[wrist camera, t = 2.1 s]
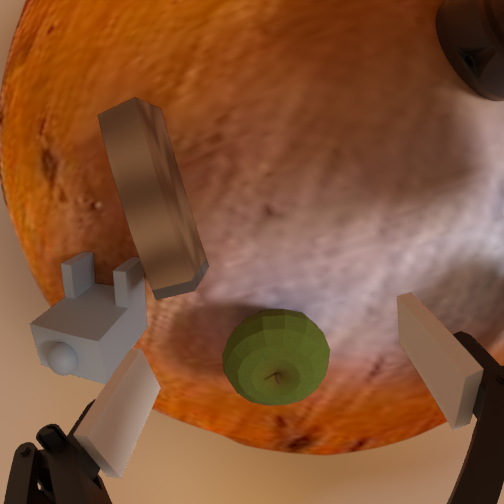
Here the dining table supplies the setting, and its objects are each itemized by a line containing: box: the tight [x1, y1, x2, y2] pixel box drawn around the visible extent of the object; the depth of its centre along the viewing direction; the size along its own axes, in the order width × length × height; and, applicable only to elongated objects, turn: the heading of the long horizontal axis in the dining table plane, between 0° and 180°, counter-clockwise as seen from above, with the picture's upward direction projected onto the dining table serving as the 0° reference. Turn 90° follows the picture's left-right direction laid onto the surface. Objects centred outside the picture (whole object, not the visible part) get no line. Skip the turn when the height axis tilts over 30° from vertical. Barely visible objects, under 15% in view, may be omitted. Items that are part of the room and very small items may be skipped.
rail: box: [98, 97, 209, 300], centre depth 29 cm, size 18×4×7 cm, turn 16°
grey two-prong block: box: [30, 252, 148, 384], centre depth 29 cm, size 9×8×14 cm
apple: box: [222, 309, 330, 405], centre depth 31 cm, size 11×10×10 cm
